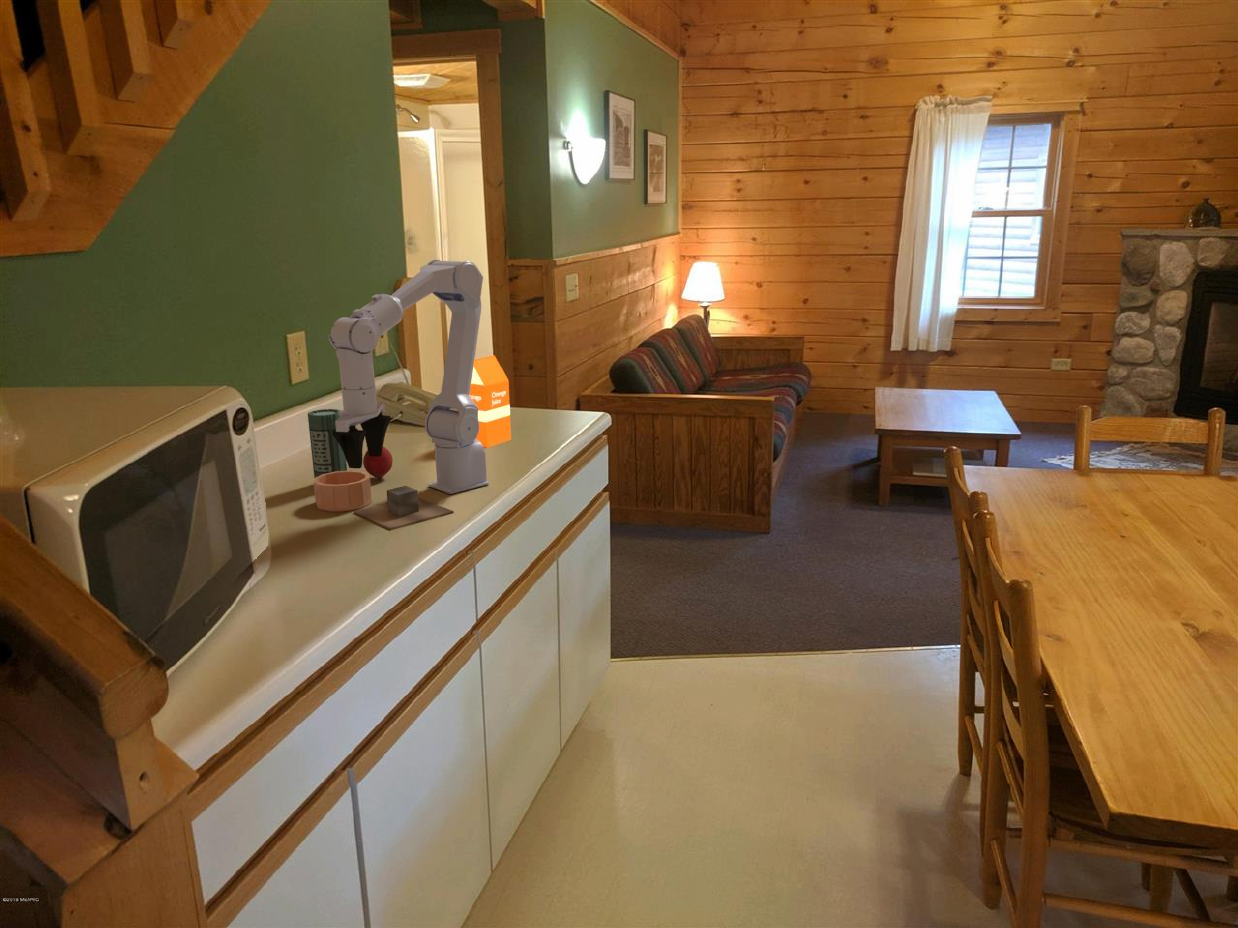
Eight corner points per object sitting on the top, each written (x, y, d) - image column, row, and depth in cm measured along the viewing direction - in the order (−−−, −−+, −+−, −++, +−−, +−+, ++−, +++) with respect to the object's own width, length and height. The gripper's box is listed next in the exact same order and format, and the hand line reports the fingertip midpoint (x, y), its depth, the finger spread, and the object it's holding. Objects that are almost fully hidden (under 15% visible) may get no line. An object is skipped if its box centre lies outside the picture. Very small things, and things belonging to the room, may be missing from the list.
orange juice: (511, 439, 221) (508, 356, 215) (487, 447, 214) (483, 362, 208) (486, 435, 225) (482, 353, 219) (462, 443, 218) (457, 359, 212)
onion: (386, 483, 187) (383, 445, 184) (359, 482, 188) (356, 444, 186) (398, 475, 192) (395, 438, 190) (372, 474, 193) (369, 437, 191)
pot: (355, 492, 181) (353, 467, 180) (381, 503, 174) (379, 477, 173) (307, 503, 175) (304, 478, 173) (332, 515, 168) (329, 489, 166)
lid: (415, 500, 178) (414, 476, 176) (453, 516, 168) (452, 490, 167) (354, 516, 169) (351, 490, 168) (390, 533, 160) (388, 506, 158)
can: (353, 481, 188) (346, 409, 184) (336, 490, 182) (329, 416, 178) (327, 479, 190) (319, 408, 186) (309, 488, 184) (302, 414, 180)
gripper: (357, 378, 168) (364, 450, 172) (315, 394, 155) (324, 472, 159) (393, 379, 167) (399, 451, 171) (354, 396, 153) (361, 474, 157)
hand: (365, 461), depth 165 cm, fingers open, 7 cm apart
